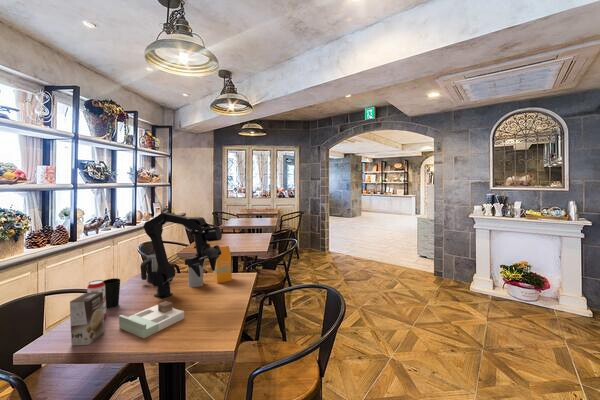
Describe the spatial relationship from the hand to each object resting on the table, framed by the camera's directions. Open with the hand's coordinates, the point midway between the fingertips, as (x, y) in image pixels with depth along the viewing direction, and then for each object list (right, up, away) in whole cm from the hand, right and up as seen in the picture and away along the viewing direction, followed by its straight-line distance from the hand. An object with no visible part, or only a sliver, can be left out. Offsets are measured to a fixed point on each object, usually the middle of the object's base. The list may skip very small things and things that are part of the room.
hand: (206, 273), depth 142 cm
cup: (-42, -14, -7) cm, 45 cm away
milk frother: (-37, -12, +26) cm, 47 cm away
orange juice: (0, -11, +29) cm, 31 cm away
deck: (-15, -14, -23) cm, 31 cm away
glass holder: (-14, -12, +24) cm, 30 cm away
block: (-12, -11, -18) cm, 24 cm away
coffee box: (-33, -15, -35) cm, 50 cm away
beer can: (-40, -14, -20) cm, 47 cm away
